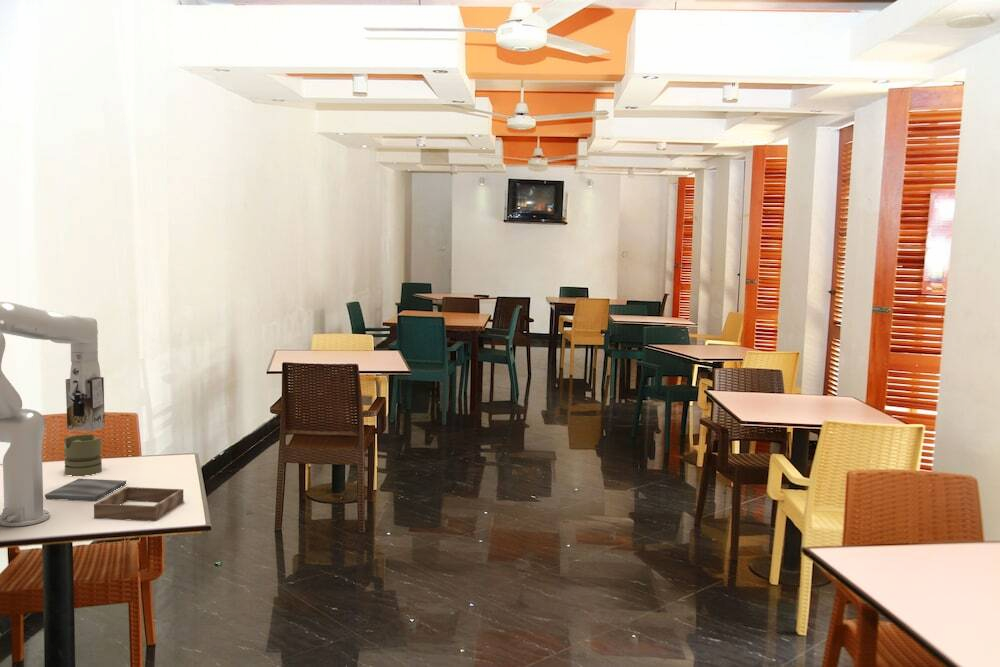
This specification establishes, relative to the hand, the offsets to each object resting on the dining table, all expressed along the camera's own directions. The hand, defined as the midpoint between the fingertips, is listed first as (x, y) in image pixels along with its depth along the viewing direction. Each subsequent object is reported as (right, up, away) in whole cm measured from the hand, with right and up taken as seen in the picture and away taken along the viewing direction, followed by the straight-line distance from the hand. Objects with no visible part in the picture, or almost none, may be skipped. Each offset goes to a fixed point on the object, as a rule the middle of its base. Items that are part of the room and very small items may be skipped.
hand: (85, 413), depth 253 cm
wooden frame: (+23, -27, -14) cm, 39 cm away
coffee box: (0, -5, 0) cm, 5 cm away
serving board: (-1, -25, +2) cm, 25 cm away
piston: (-14, -23, +25) cm, 37 cm away
